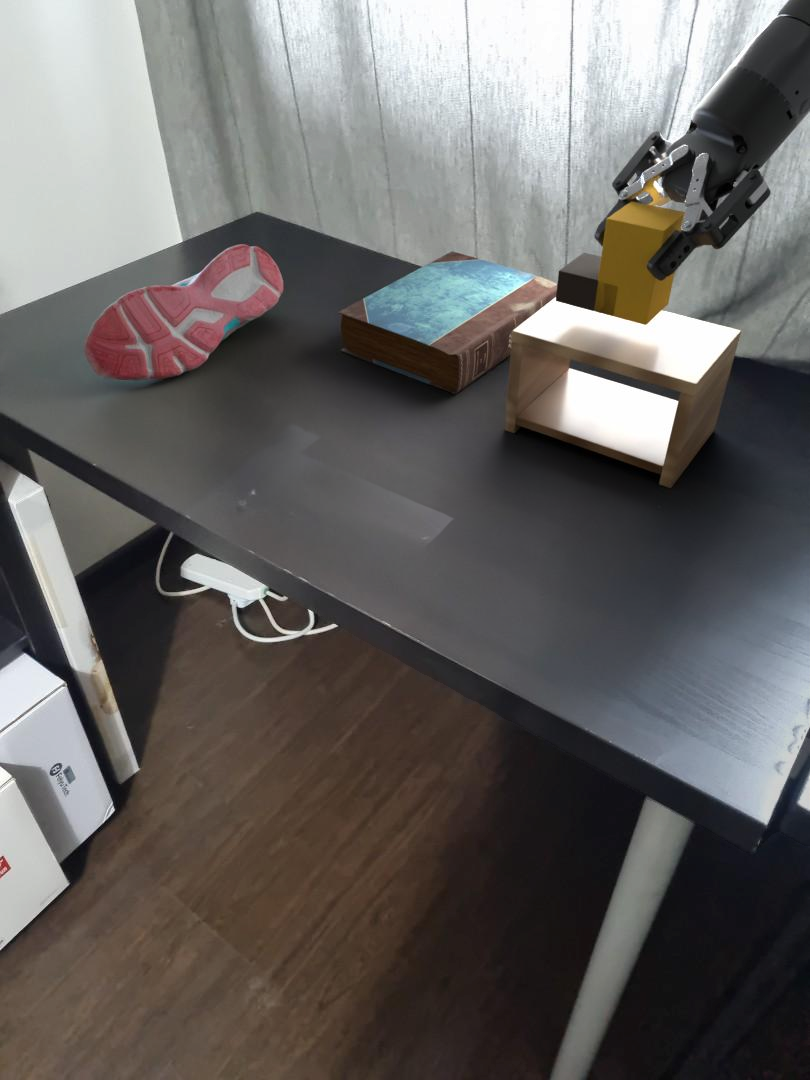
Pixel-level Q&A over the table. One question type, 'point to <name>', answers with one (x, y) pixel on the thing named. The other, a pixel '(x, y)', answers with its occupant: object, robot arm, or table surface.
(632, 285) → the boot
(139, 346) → the athletic shoe
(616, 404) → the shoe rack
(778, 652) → the table surface
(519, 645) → the table surface
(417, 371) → the book
